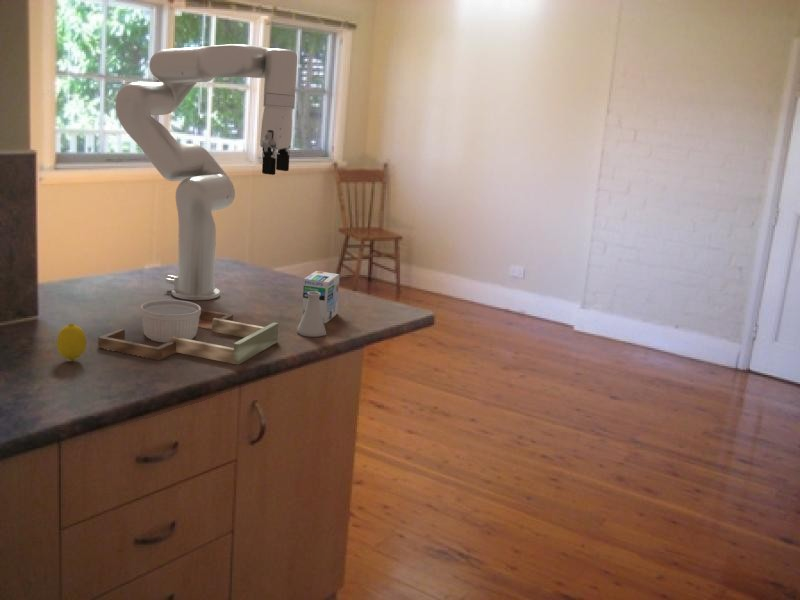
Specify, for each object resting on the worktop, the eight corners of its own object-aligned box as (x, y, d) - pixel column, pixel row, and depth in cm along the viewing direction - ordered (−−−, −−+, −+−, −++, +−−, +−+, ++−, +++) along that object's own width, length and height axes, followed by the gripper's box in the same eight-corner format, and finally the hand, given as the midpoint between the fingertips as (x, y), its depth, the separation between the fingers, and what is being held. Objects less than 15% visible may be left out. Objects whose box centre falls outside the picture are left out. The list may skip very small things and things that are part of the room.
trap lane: (98, 348, 186) (98, 327, 185) (178, 314, 215) (179, 296, 214) (223, 373, 178) (223, 352, 176) (289, 334, 206) (290, 316, 205)
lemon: (61, 356, 180) (61, 318, 178) (89, 357, 180) (89, 320, 178) (53, 364, 174) (52, 326, 172) (82, 366, 175) (81, 328, 173)
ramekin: (174, 324, 207) (174, 296, 206) (212, 337, 200) (213, 308, 198) (127, 335, 197) (127, 305, 195) (166, 349, 190) (167, 318, 188)
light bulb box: (326, 324, 218) (329, 282, 215) (300, 320, 219) (302, 278, 216) (337, 313, 228) (340, 273, 225) (313, 310, 229) (315, 270, 227)
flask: (302, 338, 205) (305, 297, 202) (292, 329, 211) (294, 289, 208) (331, 336, 208) (334, 296, 206) (319, 328, 214) (322, 288, 212)
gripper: (276, 99, 221) (273, 167, 225) (251, 100, 205) (248, 173, 209) (305, 102, 220) (301, 170, 224) (281, 103, 203) (278, 177, 208)
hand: (275, 172), depth 217 cm, fingers open, 9 cm apart
